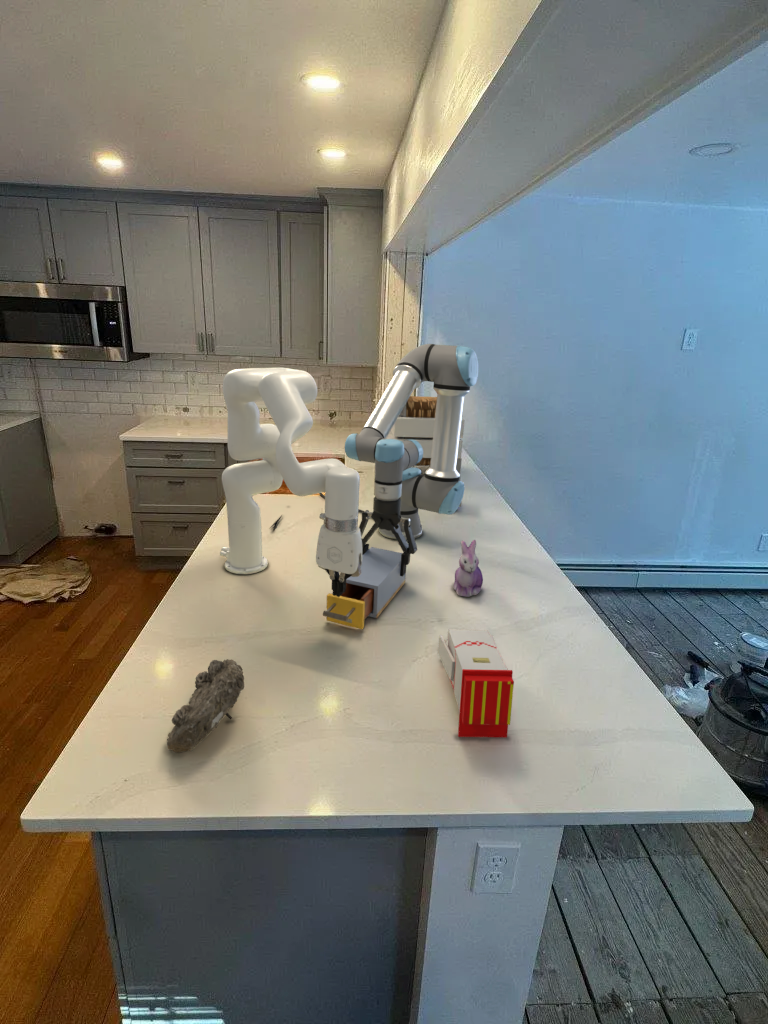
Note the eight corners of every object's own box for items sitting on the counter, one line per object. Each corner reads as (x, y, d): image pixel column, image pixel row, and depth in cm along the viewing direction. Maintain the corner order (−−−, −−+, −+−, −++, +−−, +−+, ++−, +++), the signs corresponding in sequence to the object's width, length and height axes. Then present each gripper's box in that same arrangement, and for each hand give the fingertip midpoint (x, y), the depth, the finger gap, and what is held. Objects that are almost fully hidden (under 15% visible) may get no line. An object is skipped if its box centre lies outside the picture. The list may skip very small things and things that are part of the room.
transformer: (382, 463, 289) (386, 382, 275) (445, 464, 293) (451, 384, 279) (390, 482, 257) (394, 392, 243) (460, 483, 261) (468, 394, 247)
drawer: (352, 641, 133) (353, 614, 130) (315, 631, 136) (315, 605, 134) (391, 593, 156) (393, 569, 153) (359, 585, 159) (360, 562, 157)
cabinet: (376, 618, 145) (378, 586, 142) (338, 608, 149) (338, 577, 145) (405, 582, 164) (406, 553, 161) (370, 575, 168) (371, 546, 165)
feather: (289, 509, 222) (291, 505, 221) (271, 533, 195) (274, 529, 195) (285, 506, 222) (288, 503, 221) (267, 531, 195) (270, 526, 195)
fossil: (192, 660, 117) (244, 628, 112) (224, 691, 120) (276, 661, 115) (142, 746, 98) (202, 712, 93) (182, 779, 101) (242, 748, 96)
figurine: (464, 601, 155) (469, 550, 150) (443, 585, 164) (448, 537, 159) (492, 594, 159) (497, 545, 154) (470, 579, 168) (475, 532, 163)
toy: (488, 613, 130) (523, 677, 101) (484, 667, 133) (517, 744, 104) (435, 612, 130) (455, 676, 101) (432, 666, 133) (451, 743, 103)
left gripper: (303, 521, 127) (303, 593, 134) (364, 534, 122) (360, 608, 129) (319, 510, 134) (318, 580, 140) (378, 523, 129) (373, 594, 135)
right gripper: (342, 494, 155) (341, 567, 162) (424, 507, 147) (418, 584, 154) (354, 487, 161) (352, 557, 169) (432, 499, 153) (426, 573, 161)
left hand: (338, 593), depth 134 cm, fingers closed
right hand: (383, 570), depth 161 cm, fingers closed on cabinet, 11 cm apart
